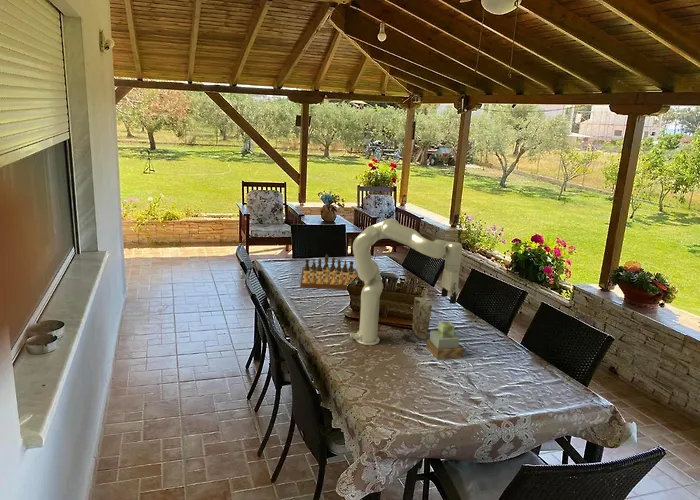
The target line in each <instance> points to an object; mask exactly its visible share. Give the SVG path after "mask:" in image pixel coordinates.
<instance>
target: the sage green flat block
mask: <svg viewBox="0 0 700 500" xmlns="http://www.w3.org/2000/svg"><path fill="white" fill-rule="evenodd" d="M429 339H430V341H431V342H432V343H433V344H434V345H435V346H436V347H437V348H438V349H448V348H458V346H459V345H460V344H459V343H460V338H459V337H458V336H457V335H456V334H455V333H454V336H453V337H445V338H442V337H441V336H440V335H439V334H438V330H430V332H429Z"/></svg>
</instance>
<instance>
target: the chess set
mask: <svg viewBox="0 0 700 500" xmlns="http://www.w3.org/2000/svg"><path fill="white" fill-rule="evenodd" d="M329 259H330V258H329V255H328V254H327V253H326V254H325V257H324V264H323V267H322V259H321V258H320V257H319V258H318V260H317V264H318V265H316V261H315V258H313V260H312V264H311V266H310V265H309V264H310V260H309V259H305V260H304V261H305V265H304V266H302V267H301V268H302V269H301V277H300V289H317V290H318V289H320V290H341V291H342V290H345V291H347V290H346V287H347V285H349V284H350V283H351V282H352V281H353V280H354V279H355V278H356V277H358V278H359V276H358V271H357V268H354V262H355V261H349V268H348V265H347V260H344V262H343V263H344V264H343V266H342V267H341V265H342V264H341V263H342V261H341V258H340V259H338V260H337V266H336V265H335V263H336V261H335V260H336V258H335V256H333V257H332V258H331V264H330V265H331V266H329V262H330V261H329Z"/></svg>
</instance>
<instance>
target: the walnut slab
mask: <svg viewBox="0 0 700 500" xmlns="http://www.w3.org/2000/svg"><path fill="white" fill-rule="evenodd" d="M425 347H426V349H427V350H428V351H429V352H430V353H431V354H432V355H433V356H434V357H435V359H436V360H442V359H443V360H444V359H457V358H458V359H459V358H463V357H464V350H465V349H464V348H463V347H462V346H461V345H460V344H459V346H458V348H448V349H438V348H437V347H436V346H435V345H434V344H433V343H432V342H431V341H430V338H427V339H426V346H425Z"/></svg>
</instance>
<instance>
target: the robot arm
mask: <svg viewBox="0 0 700 500" xmlns="http://www.w3.org/2000/svg"><path fill="white" fill-rule="evenodd" d="M386 238H387V239H390V240H392V241H395V242H397V243H400V244H402V245H404V246H408V247H410V248H411V249H412V250H414V251H416V252H419V253H420V254H422V255H425V256H428V257H430V258H432V259H441V258H443V257H444V256H445V259H444V268H443V271H442V274H441V275H442V276H441V295H440V296H441V298H442V297H443V298H444V297H448V294H449V293H448V292H450V296H449V304H450V305H451V304H456V303H457V297H458V295H459V291H460V288H459V281H460V278H459V277H460V271H461V270H460V269H461V263H462V262H461V261H462V255H463V254H462V253H463V244H462V243H460V242H458V241H447V240H445V239H444V240H443V239H435V240H430V239H427V238H425V237H424V236H422V235H421V234H420V233H419V232H418V231H417V230H415V229H414V228H411V227H408V226H406V225H402V224H400V223H399V221H398V220H397V219H395V218H387V219H383V221H382V220H381V221H380V222H377V223H375V224H372V225H370V226H367V227H365V229H364V230H362V232H361V233H359V234H358V235H357V237H355V239H354V240H353V243H352V253H353V256H354V262H355V266H356V271H357V276H358V279H360V280H361V281H362V282H363V283H364V285H363V287H362V289H361V292H360V293H361V294H360V315H359V327H358V328H359V329H358V330H357V332H355V333H354V332H353V333H352V332H351V333H349V336H350V338H353V339H355V341H356V342H357V343H358V344H360V345H365V346H375V345H377V344H379V342H380V338H379V336H378V328H379V327H378V324H379V315H380V314H379V313H380V297H381V294H382V292H383V288H384V285H383V280H382V276H381V272H380V267H379V265H378V263H377V262H376V261H375V260H373V258H372V254H371V251H370V248H371V247H372V246H373V245H374V244H375V243H376V242H378V241H379V240H382V239H386Z"/></svg>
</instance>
